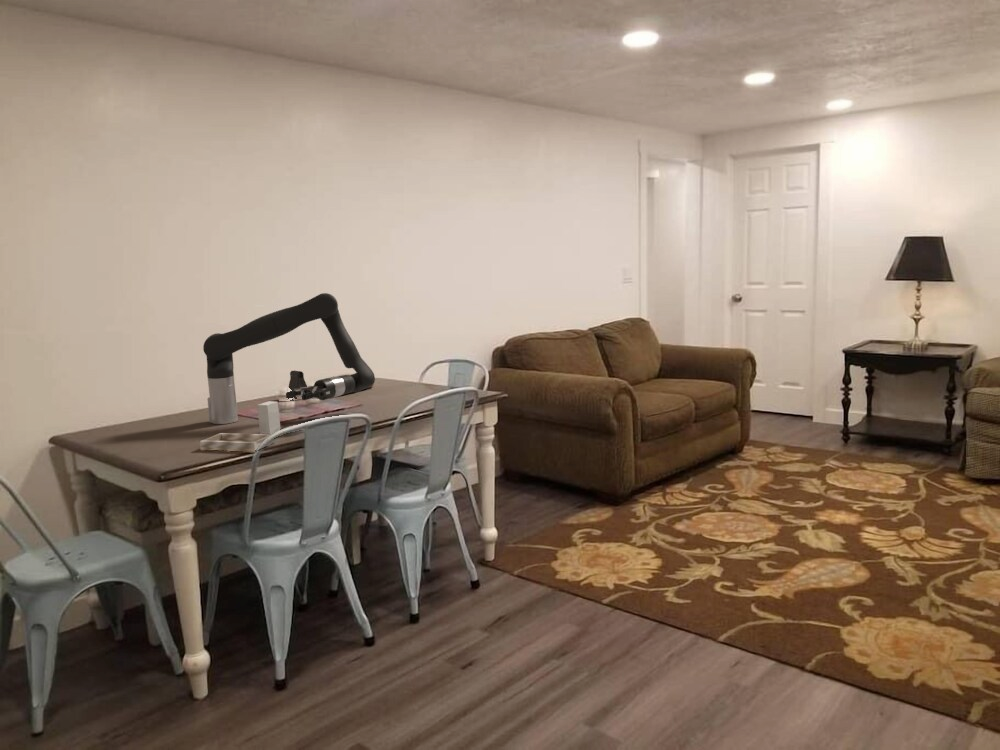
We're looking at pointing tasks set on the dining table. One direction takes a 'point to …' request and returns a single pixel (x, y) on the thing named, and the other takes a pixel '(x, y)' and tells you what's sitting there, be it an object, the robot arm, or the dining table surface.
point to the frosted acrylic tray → (233, 442)
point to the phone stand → (296, 380)
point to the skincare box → (268, 417)
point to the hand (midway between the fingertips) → (294, 396)
